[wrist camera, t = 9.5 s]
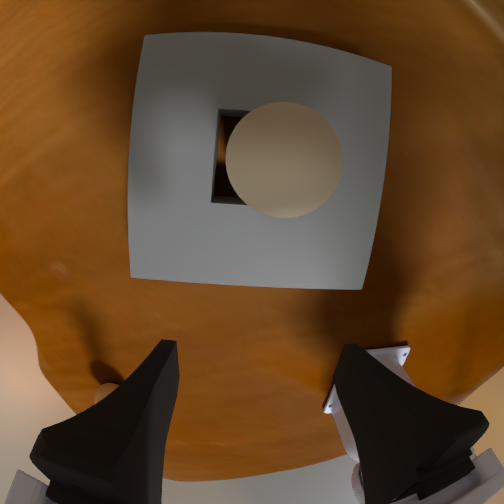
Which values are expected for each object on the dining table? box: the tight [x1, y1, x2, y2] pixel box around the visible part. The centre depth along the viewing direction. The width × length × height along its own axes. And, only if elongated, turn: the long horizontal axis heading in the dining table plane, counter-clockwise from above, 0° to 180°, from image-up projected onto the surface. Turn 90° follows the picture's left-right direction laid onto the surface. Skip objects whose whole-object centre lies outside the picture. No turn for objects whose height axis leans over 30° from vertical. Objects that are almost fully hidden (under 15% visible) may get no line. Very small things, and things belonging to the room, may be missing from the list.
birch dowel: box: [226, 102, 343, 218], centre depth 13 cm, size 4×4×10 cm
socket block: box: [128, 32, 392, 290], centre depth 17 cm, size 16×16×3 cm
